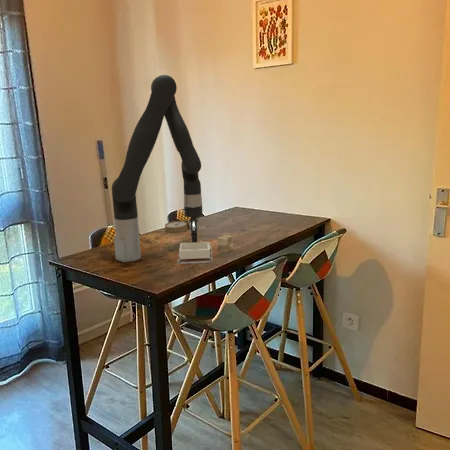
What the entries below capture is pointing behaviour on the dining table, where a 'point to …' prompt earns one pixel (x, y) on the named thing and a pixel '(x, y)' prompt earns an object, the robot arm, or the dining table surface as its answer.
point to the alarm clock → (177, 226)
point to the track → (198, 260)
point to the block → (225, 243)
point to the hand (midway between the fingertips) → (194, 244)
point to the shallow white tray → (194, 250)
